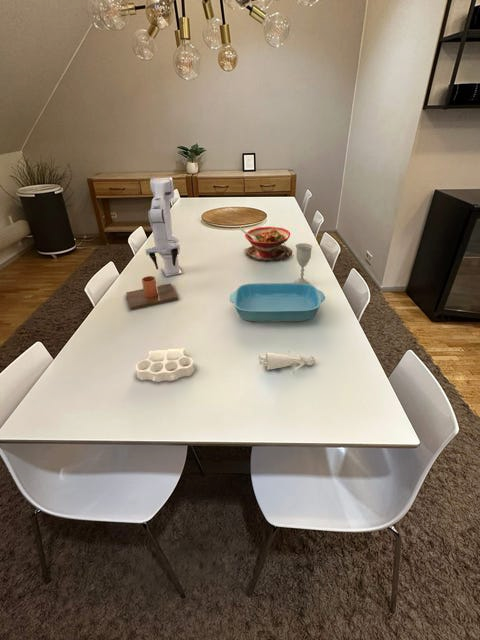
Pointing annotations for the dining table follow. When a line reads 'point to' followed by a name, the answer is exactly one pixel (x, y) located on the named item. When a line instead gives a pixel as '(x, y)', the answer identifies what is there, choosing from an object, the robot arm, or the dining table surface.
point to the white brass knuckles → (165, 365)
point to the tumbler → (150, 286)
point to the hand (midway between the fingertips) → (165, 266)
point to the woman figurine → (284, 360)
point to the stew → (268, 243)
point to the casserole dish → (277, 301)
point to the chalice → (303, 258)
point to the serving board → (164, 295)
